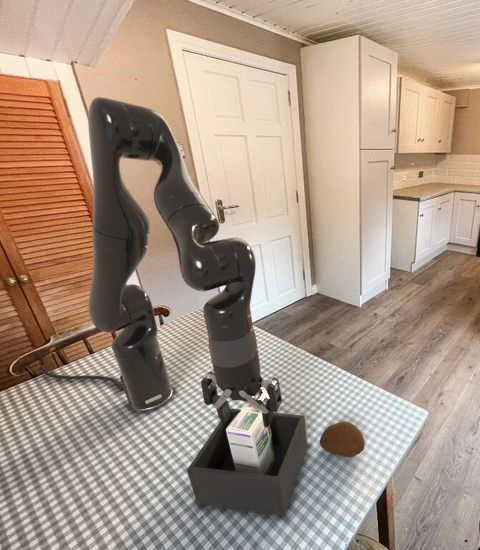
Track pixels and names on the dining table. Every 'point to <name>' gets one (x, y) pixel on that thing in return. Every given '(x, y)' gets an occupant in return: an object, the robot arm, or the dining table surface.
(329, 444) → the potato
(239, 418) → the syrup box
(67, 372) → the dining table surface
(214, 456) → the basket
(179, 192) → the robot arm
